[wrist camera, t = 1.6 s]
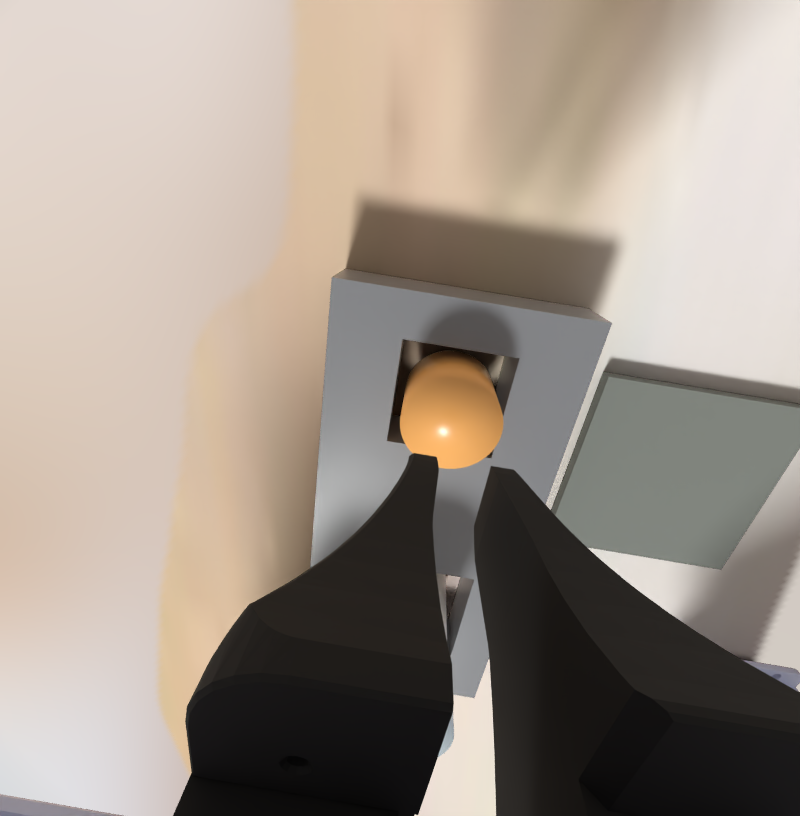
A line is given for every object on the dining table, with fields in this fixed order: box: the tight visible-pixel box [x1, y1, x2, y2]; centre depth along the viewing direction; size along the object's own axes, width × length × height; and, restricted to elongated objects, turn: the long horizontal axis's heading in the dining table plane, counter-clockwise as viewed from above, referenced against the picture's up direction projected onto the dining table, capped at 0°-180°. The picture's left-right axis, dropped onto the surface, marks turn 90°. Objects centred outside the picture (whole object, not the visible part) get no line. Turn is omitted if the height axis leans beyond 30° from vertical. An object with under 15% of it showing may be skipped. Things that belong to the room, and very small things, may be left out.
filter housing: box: [310, 269, 612, 698], centre depth 21 cm, size 10×22×2 cm, turn 172°
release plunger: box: [400, 350, 503, 469], centre depth 16 cm, size 4×4×3 cm
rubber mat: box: [551, 372, 800, 570], centre depth 20 cm, size 9×9×1 cm
